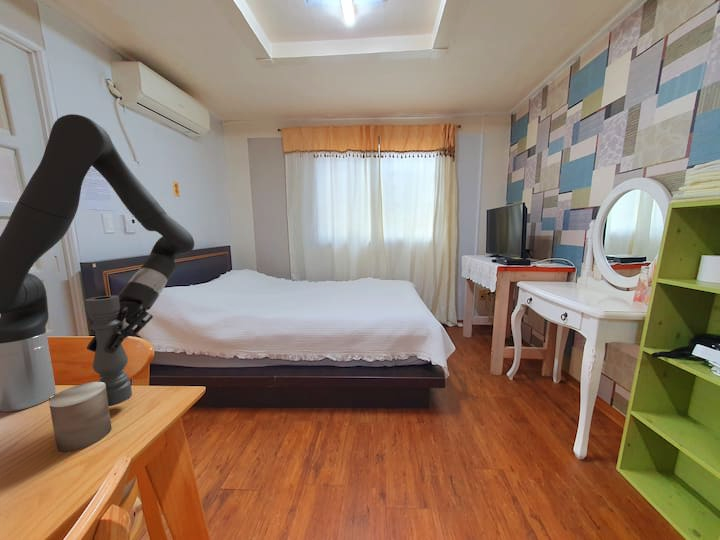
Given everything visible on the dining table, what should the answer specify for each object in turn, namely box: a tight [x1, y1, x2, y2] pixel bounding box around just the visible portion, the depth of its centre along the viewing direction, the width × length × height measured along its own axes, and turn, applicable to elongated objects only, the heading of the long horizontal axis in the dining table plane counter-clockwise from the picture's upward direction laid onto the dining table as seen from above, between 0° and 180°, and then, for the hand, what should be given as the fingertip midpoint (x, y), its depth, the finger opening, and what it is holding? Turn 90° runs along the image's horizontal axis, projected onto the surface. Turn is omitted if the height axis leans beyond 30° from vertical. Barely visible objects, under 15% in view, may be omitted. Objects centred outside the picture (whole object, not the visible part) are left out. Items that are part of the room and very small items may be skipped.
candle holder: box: [84, 294, 133, 407], centre depth 63 cm, size 6×6×25 cm
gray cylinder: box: [48, 381, 112, 453], centre depth 56 cm, size 8×8×10 cm
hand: (100, 350), depth 62 cm, fingers closed on candle holder, 4 cm apart
